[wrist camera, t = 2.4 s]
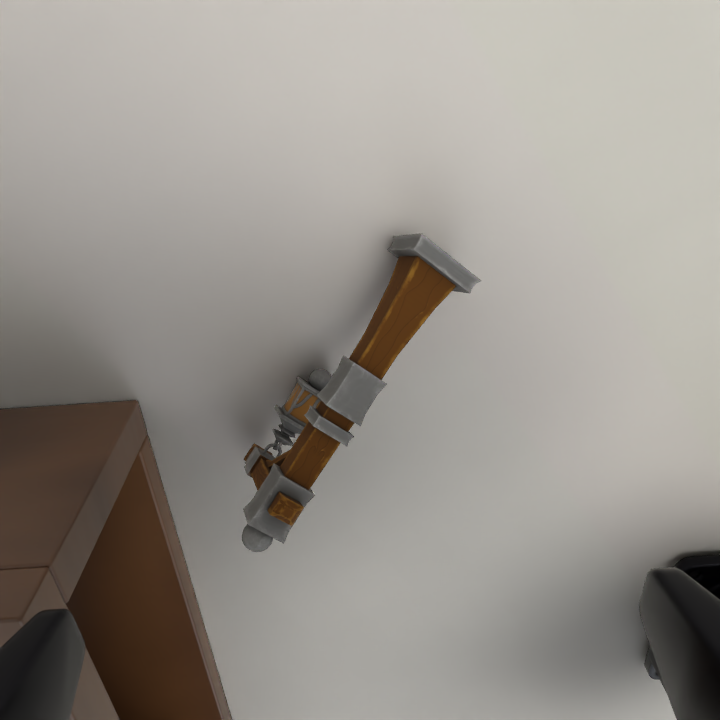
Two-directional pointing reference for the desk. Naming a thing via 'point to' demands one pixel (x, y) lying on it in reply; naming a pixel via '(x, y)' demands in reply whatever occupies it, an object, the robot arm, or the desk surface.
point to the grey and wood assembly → (344, 390)
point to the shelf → (103, 561)
